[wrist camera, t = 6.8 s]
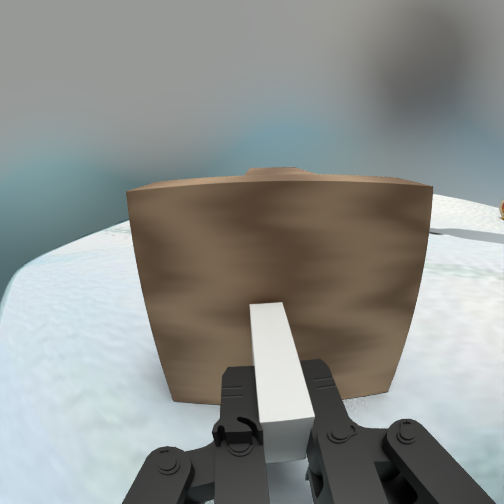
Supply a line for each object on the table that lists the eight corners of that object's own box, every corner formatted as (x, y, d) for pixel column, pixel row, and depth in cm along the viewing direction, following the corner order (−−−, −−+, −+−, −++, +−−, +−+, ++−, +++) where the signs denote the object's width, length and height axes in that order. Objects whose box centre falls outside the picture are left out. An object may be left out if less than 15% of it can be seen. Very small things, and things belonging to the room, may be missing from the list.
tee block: (340, 295, 28) (347, 168, 24) (387, 391, 15) (433, 186, 11) (207, 299, 29) (195, 171, 24) (173, 401, 16) (126, 191, 11)
